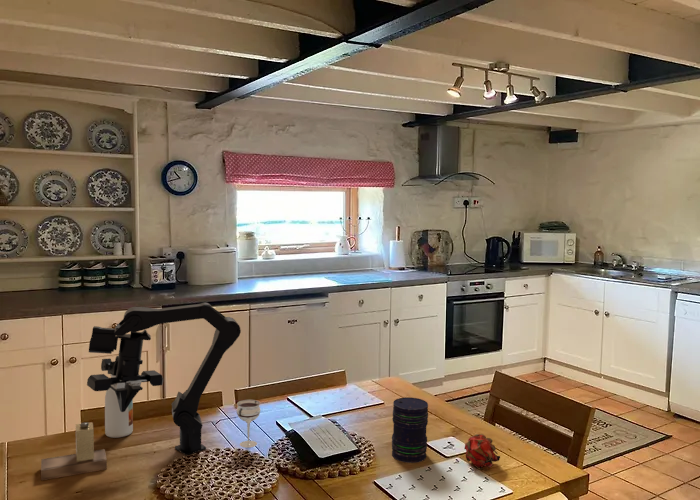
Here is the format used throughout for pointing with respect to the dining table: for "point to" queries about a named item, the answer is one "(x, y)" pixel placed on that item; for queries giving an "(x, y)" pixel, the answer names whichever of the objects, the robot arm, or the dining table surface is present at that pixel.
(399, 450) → the dark blue cylinder
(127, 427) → the milk bottle
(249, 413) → the wineglass
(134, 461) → the dining table surface
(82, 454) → the beige rectangular block
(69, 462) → the body
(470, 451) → the dragon fruit
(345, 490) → the dining table surface
